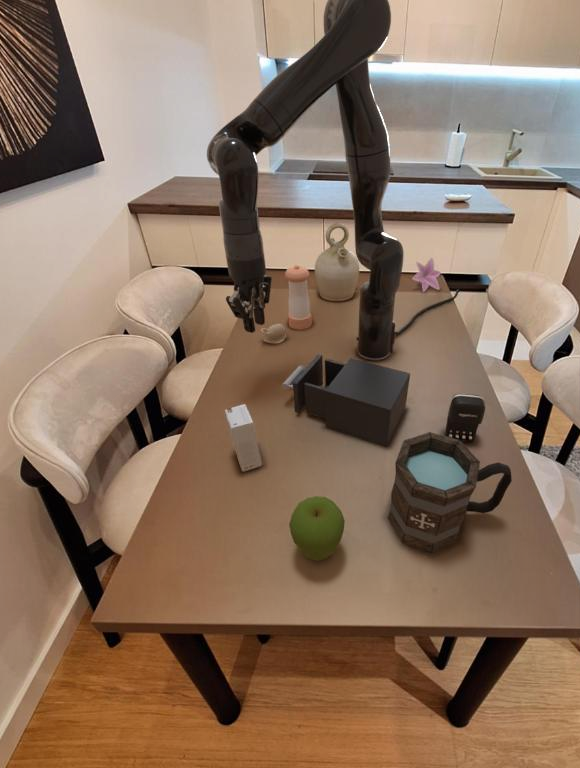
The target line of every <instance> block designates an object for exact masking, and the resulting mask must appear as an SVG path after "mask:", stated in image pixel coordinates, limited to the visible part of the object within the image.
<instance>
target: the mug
mask: <svg viewBox="0 0 580 768" xmlns="http://www.w3.org/2000/svg"><path fill="white" fill-rule="evenodd" d="M394 465H395V476H394V482H393V486H392V490H391V493H390V497H391V498H390V500H391V501H390V508H389V513H388V515H387V520H388V522H389V524H390V525H391V527H392V528H393V530H394V532H395V534H396V535H397V537H398V539H399V540H400V542H401V543H402V544H405V545H407V546H410V547H413V548H416V549H419V550H422V551H425V552H427V553H431V554H433V553H435V552H438V551H440V550H441V549H444V548H446V547H449V546H451V545H453V544H455V543H457V542H458V537H459V532H460V529H461V526H462V523H463V522H464V520H465V518H466V516H467V512H473V513H478V514H486V513H491V512H493V511H494V510H495V509H496V508H498V507H499V505H500V504H501V502H502V500H503V498H504V496H505V494H506V491H507V490H508V488H509V486H510V485H511V483H512V479H513V478H512V470H511V468H510V466H509V465H507V464H504V463H501V462H494V463H490V464H487V465H486V466H484V467H482V468H481V469H480V465H481V461H480V460H479V459H478V458H477V457H476V456H475V455H474V454H473V452H472V451H471V450H470V449H469V448H468V447H467V446H466V445H465V443H464V442H461V441H460V440H457V439H454V438H450V437H446V436H445V435H442V434H439V433H435V432H431V431H429V432H425V433H423V434H420V435H417V436H414V437H411V438H408V439H407V438H406V439H404V440H403V442H402V443H401V447H400V449H399V452H398V454H397V458H396V459H395V463H394ZM499 474H503V475H502V477H501V478H500V480H499V481H498V483H497V485H496V487H495V490H494V492H493V495H492V496H491V497H490V498H489V499H488V500H487V501H483V502H476V501H471V500H470V499H471V497H472V495H473V493H474V491H475V490H476V488H477V483H478V482H482V481H484V480H487V479H489V478H491V477H492V476H494V475H499Z"/></svg>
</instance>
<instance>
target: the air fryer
mask: <svg viewBox="0 0 580 768" xmlns="http://www.w3.org/2000/svg"><path fill="white" fill-rule="evenodd" d="M410 378H411V373H410V372H406V371H403V370H399V369H395V368H391V367H387V366H383V365H380V364H376V363H372V362H368V361H364V360H361V359H358V358H352V357H350V358H349V359H348V360H347V362H345V366H344V367H343V368H342V369H341V371H340V372H339V373H338V375H337V376H336V377H335V378H334V380H333V381H332V382H331V384H330V385H329V386H328V388H327V389H326V390H325V415H326V419H325V428H327V429H331V430H333V431H336V432H340V433H343V434H346V435H349V436H351V437H355V438H358V439H362V440H365V441H367V442H371V443H373V444H376V445H380V446H383V447H388V445H389V443H390V441H391V439H392V437H393V435H394V433H395V431H396V429H397V427H398V424H399V422H400V420H401V418H402V416H403V414H404V412H405V410H406V406H407V399H408V392H409V386H410Z"/></svg>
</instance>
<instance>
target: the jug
mask: <svg viewBox="0 0 580 768" xmlns="http://www.w3.org/2000/svg"><path fill="white" fill-rule="evenodd" d="M335 229H341V230H342V232H343V237H342V239H340V240H338V241H336V239H335V238H334V237H331V234H332V232H333V231H334V230H335ZM349 237H350V232H349V229H348V228H347V226H346V224H344V223H341V222H333V223H331V224H330V225H329V226H328V227H327V228H326V230H325V241H326V242H327V244H328V245H329V247H328V248H325V249H324V250H323V251H321V252H320V253H319V254H318V255H317V258H316V260H315V263H314V275H315V280H316V286H317V289H318V290H317V291H318V292H319V296H320V297H321V298H322V299H323V300H326V301H330V302H345V301H347V300H350V299H352V298H353V296H354V294H355V291H356V288H357V285H358V280H359V275H360V262H359V260H358V258H357V255H356V254H354V253H353V252H352V250H349V249H348V248H346V247H345V244H346V243H347V242H348V240H349Z"/></svg>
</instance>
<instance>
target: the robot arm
mask: <svg viewBox="0 0 580 768" xmlns="http://www.w3.org/2000/svg"><path fill="white" fill-rule="evenodd" d="M322 19H323V20H322V21H323V23H322V24H323V34H324V35H323V36H322V37H321V38H320V40H319V41H318V42H317V43H316V44H314V45H313V46H312V47H311V48H310V49H309V50H308V51H307V52H306V53H304V54H303V55H302V56H301V57H299V58H298V59H297V60H295V61H294V62H293V63H291V64H290V65H289V66H287V67H286V68H284V69H283V70H282V71H281V72H280V73H278V74H277V75H276V76H274V77H273V79H272V80H271V81H269V83H267V84H266V86H264V88H262V90H261V91H260V92H259V93H258V94H257V96H256V97H255V98H254V99H253V100H252V101H251V102H250V103H249V104H248V106H247V107H245V109H244V110H243V111H242V112H241V113H239V114H238V115H236V116H235V117H234V118H233V119H231V120H230V121H229V122H228V123H226V124H225V125H224V126H223V127H222V128H221V129H219V130H218V131H217V133H215V135H214V136H213V137H212V138H211V140H210V141H209V143H208V146H207V149H206V159H207V162H208V165H209V167H210V168H211V170H212V171H213V172H214V173H215V174H216V175H217V176H218V178H219V184H220V193H221V199H219V203H218V204H219V205H218V206H219V215H220V221H221V223H220V224H221V229H222V237H223V238H222V239H223V241H222V242H223V248H224V253H225V258H226V259H225V260H226V264H227V270H228V271H227V272H228V275H229V277H230V278H231V279H232V280H233V293H232V294H231V296H230V295H227V296H226V297H225V301H226V303H227V305H228V307H229V308H230V310H231V312H232V313H233V316H234V317H235V318H238V319H241V320H242V323H243V328H244V331H246V332H247V333H251V334H253V333H254V332H256V326H255V324H256V325H260V326H263V325H265V323H266V320H265V319H266V318H265V309H266V304H269V302H270V298H271V289H272V288H271V287H272V276H269V275H266V274H267V267H266V259H265V251H264V250H265V249H264V239H263V236H262V232H261V227H260V226H261V225H260V217H259V210H258V196H259V177H260V176H259V166H258V160H257V157H256V156H258V154H260V153H261V152H262V151H263V150H264V149H267V148H271V147H274V146H276V145H277V144H279V142H280V141H281V140H282V139H283V138H284V137H285V136H286V135H287V134H288V133H289V132H290V131H291V129H292V128H293V127H295V125H296V124H297V123H298V122H299V121H300V119H302V117H304V115H305V114H306V113H307V112H308V111H309V110H310V109H311V108H312V107H313V106H314V105H315V104H316V103H317V102H318V101H319V100H320V99H321V98H322V97H323V96H324V95H325V94H326V93H327V92H329V90H331V89H332V88H333V87H334V86H335V90H336V96H337V103H338V109H339V110H338V111H339V118H340V124H341V133H342V139H343V146H344V156H345V164H346V171H347V176H348V183H349V190H350V197H351V198H350V199H351V204H352V205H351V206H352V211H353V222H354V223H353V224H354V248H355V256H356V258H357V260H358V263H359V264H360V265H361V266H363V267H364V268H366V269H367V270H368V271H369V272H370V273H369V279H368V281H365V282H363V283H362V284H361V286H360V288H359V305H358V306H359V307H358V332H357V337H356V341H357V349H356V353H357V355H358V356H359V357H360V358H361V359H364V360H366V361H371V362H379V361H383V360H386V359H387V358H388V357H390V355H391V354H393V350H394V344H395V339H396V336H399V335H401V334H402V333H403V332H404V331H405V330H407V328H409V327H410V326H411V325H412V324H413V322H414V321H415V320H416V318H418V317H419V316H420V315H421V314H423V313H425V312H426V311H428V310H431V309H433V308H435V307H437V306H440V305H443V304H445V303H448V302H451V301H453V300H455V299H456V298H457V297H458V295H459V293H460V290H459V289H456V291H455V294H454V295H453V296H452V297H450V298H447V299H444V300H441V301H439V302H436V303H434V304H432V305H429V306H427V307H425V308H423V309H422V310H419V311H418V312H417V313H416V314H415V315H414V316H412V318H411V319H410V320H409V322H408V323H407V324H406V325H404V327H403V328H401V329H400V330H399V331H396V323H395V322H394V315H395V314H394V313H395V302H396V294H397V292H398V291H399V287H400V284H401V278H402V272H403V266H404V258H405V256H404V255H405V253H404V247H403V245H402V243H401V242H400V241H399V240H398V239H397V238H395V237H393V236H391V235H390V234H387V233H386V232H385V229H384V224H383V215H382V204H383V200H384V196H385V194H386V191H387V188H388V185H389V181H390V178H391V167H392V166H391V155H390V154H391V151H390V140H389V139H390V138H389V134H388V130H387V127H386V124H385V122H384V118H383V116H382V114H381V112H380V108H379V106H378V104H377V102H376V99H375V96H374V93H373V90H372V84H371V79H370V71H369V70H370V69H369V58H371V57H372V56H373V55H374V54H376V53H377V52H378V51H379V50H380V49H381V48H382V47H383V46H384V44H385V42H386V41H387V39H388V36H389V34H390V30H391V25H392V11H391V5H390V2H389V0H327V1H326V4H325V7H324V11H323V17H322ZM246 309H247V311H246Z"/></svg>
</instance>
